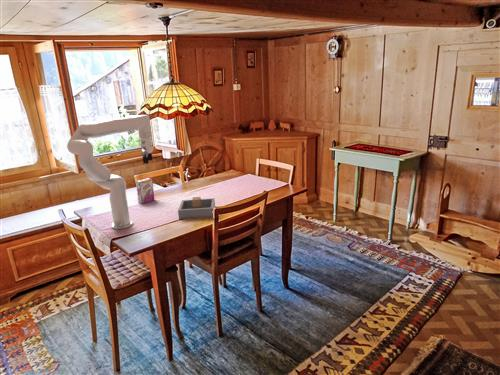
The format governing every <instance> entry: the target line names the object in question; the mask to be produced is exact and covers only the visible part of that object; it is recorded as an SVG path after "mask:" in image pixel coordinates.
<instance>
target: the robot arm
mask: <svg viewBox="0 0 500 375" xmlns="http://www.w3.org/2000/svg"><path fill="white" fill-rule="evenodd" d="M150 120H151V119H150V115H149V114H139V115H127V116H125V117H124V118H109V119H108V118H107V119H103V120H99V121H93V122H88V121H86V122H85V121H84V122H82V123H81V124H79V126H78V127H77V128H76V129H75V131H74V133H73V134H72V135H71V137H70V138H69V140H68V142H67V146H66V148H67V150H68V152H70V153H71V154H73V155H77V160H78V164H79V167H80V168H81V169H82V170H84V171H85V172H84V173H85V176H86V178H87V179H89V180H90V181H91V182H93V183H94V184H96V185H97V186H99V187H101V188H102V189H104V190H109V192H110V194H109V203H110V208H111V215H112V221H113V222H112V223H111V228H112V229H114V230H123V229H127V228H130V227H131V226H133V225H134V221H133V220H132V219H131V218H130V212H129V204H128V200H127V198H128V197H127V183H126V179H125V178H124V177H122V176H120V175H117V174H112V173H111V170H110V168H109V167H107V166H106V165H104V164H103V163H101V162H100V161H99V160H97V159H96V158H95V156H94V148H93V147H94V146H93V144H92V143H91V142H90V141H89V139H97V138H103V137H106V136H110V135H114V134H121V133H126V132H132V131H137V130H138V131H137V132H138V137H139V139H140V149H141V153H142V163H143V164H149V161H153V154H152V153H153V151H154V148H153V143H152V142H153V141H152V129H151V127H152V126H151V121H150Z"/></svg>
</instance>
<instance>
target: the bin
mask: <svg viewBox="0 0 500 375" xmlns="http://www.w3.org/2000/svg"><path fill="white" fill-rule="evenodd" d="M201 207H202V208H196V209H193V203H192V199H183V200H181V202H180V204H179V207H178V209H177V214H178V220H189V219H190V220H191V219H205V218H207V219H208V218H209V219H210V218H214V217H213V213H212V211H213V208H214V207H215V208H216V200H215V198H201Z"/></svg>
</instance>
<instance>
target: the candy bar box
mask: <svg viewBox="0 0 500 375" xmlns="http://www.w3.org/2000/svg"><path fill="white" fill-rule="evenodd" d="M135 185H136V192H137V201H138V203H139V204H140V205H141V204H142V205H143V204H145V203H149V202H152V201H154V200H155V193H154V192H155V191H154V183H153V178H151V177H147V178H144V179H139V180H136V181H135Z"/></svg>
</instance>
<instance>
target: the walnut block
mask: <svg viewBox="0 0 500 375" xmlns="http://www.w3.org/2000/svg"><path fill="white" fill-rule="evenodd" d="M201 199H202V198H201V196H196V197H192V199H191V200H192V203H193V209H196V208H202V207H201Z"/></svg>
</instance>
